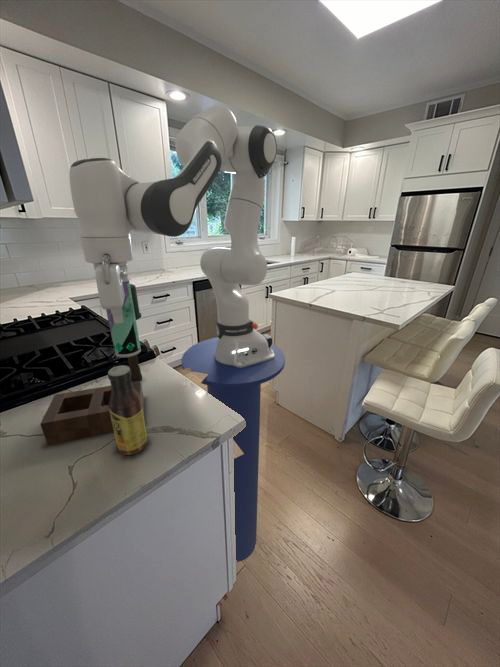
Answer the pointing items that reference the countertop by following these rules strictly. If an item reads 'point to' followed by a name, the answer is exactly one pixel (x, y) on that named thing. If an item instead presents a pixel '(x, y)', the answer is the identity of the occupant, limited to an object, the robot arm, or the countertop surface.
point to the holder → (80, 414)
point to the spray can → (125, 325)
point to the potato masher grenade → (133, 360)
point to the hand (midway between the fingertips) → (120, 317)
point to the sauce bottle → (126, 412)
